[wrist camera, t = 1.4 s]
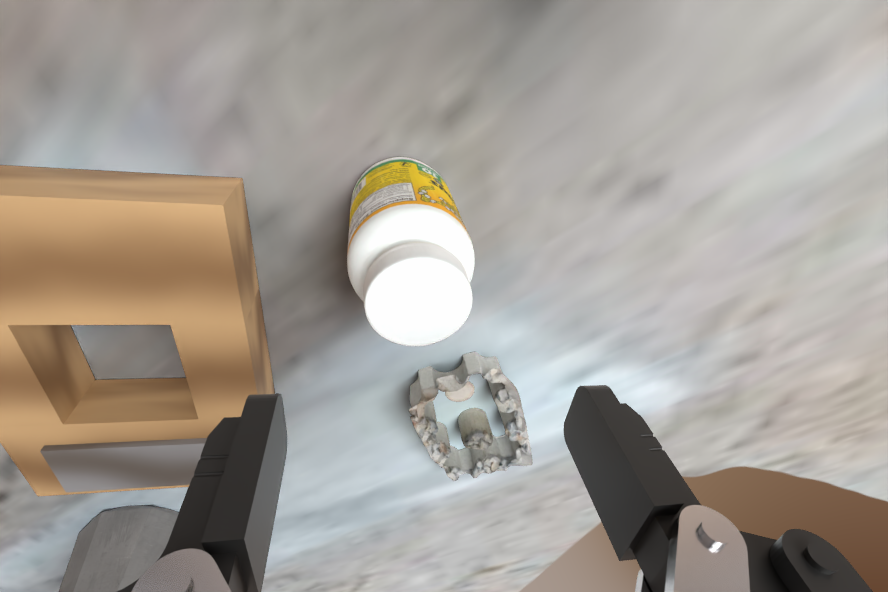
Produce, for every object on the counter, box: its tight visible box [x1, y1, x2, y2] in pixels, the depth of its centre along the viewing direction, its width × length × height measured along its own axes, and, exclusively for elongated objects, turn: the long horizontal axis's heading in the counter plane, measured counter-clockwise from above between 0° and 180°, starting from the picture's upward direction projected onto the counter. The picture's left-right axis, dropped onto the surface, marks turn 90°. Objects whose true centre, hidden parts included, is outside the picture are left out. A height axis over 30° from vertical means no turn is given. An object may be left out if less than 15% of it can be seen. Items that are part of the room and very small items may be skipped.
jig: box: [0, 165, 275, 496], centre depth 24 cm, size 20×14×4 cm
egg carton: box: [409, 352, 533, 481], centre depth 32 cm, size 11×8×4 cm
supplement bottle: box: [347, 157, 475, 346], centre depth 20 cm, size 5×5×10 cm
